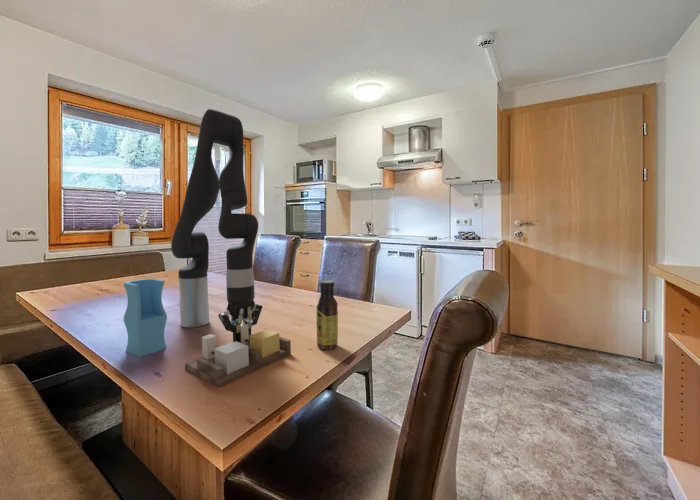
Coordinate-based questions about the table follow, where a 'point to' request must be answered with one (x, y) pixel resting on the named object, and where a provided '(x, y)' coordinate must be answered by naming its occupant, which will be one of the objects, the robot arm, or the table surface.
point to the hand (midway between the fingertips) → (242, 342)
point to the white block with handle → (225, 354)
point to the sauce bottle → (327, 317)
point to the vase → (145, 317)
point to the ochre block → (261, 340)
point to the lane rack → (218, 378)
